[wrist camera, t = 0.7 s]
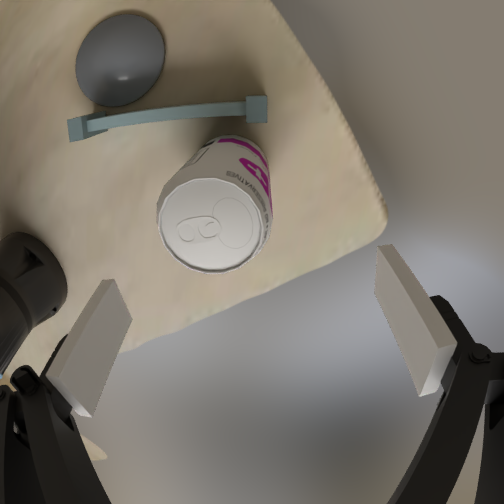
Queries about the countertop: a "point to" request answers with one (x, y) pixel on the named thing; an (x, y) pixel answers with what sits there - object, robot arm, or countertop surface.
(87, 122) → the handle
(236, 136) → the supplement can
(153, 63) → the coaster
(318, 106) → the countertop surface
